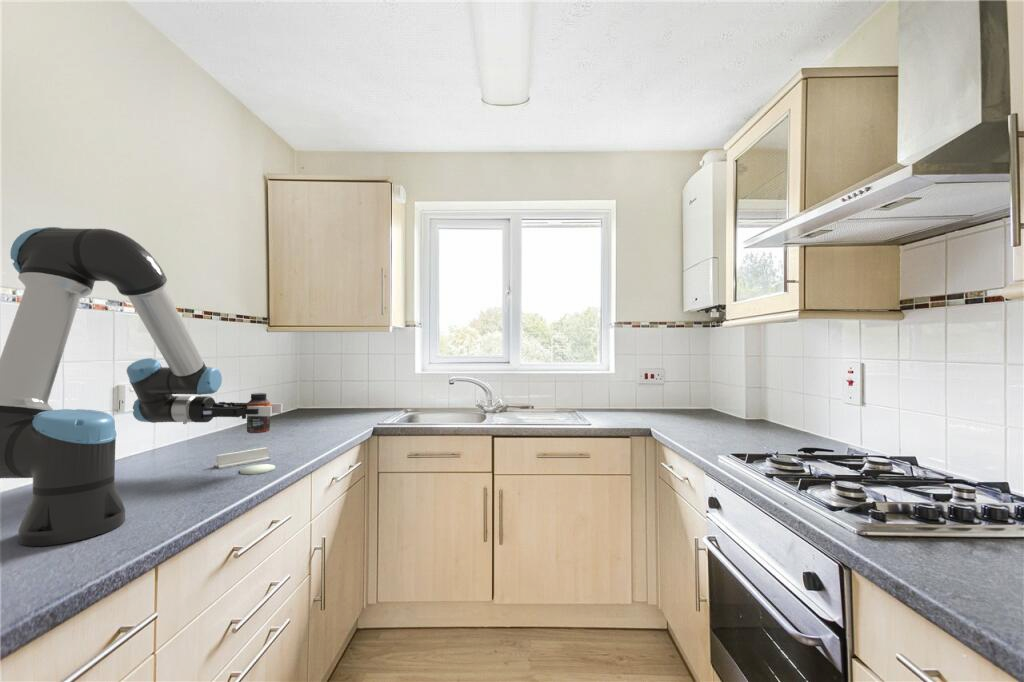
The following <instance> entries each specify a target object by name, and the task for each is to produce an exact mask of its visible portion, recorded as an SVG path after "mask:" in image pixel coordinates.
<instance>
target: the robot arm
mask: <svg viewBox="0 0 1024 682" xmlns="http://www.w3.org/2000/svg"><path fill="white" fill-rule="evenodd" d="M9 253H10V254H9V255H10V259H11V261H12V260H13V262H12V266H13V267H14V269H15V270H16V271H17V272H18V276H17V277H18V278H17V279H19V281H20V283H22V284H23V285H24V290H23V294H22V297H21V300H20V301H19V305H18V307H17V311H16V312H15V316H14V319H13V322H12V325H11V327H10V329H9V333H8V335H7V338H6V340H5V343H4V347H3V350H2V353H1V355H0V479H32V498H31V501H30V503H29V504H28V507H27V510H26V511H25V514H24V516H23V519H22V521H21V523H20V526H19V528H18V537H17V538H18V544H19V545H22V546H26V547H48V546H57V545H61V544H62V545H63V544H67V543H73V542H78V541H82V540H86V539H90V538H93V537H95V536H96V535H97V536H99V534H100V535H103V534H105V533H107V532H110V531H112V530H114V529H117V528H119V527H120V526H122V525H123V524H124V523H125V521H126V509H125V506H124V504H123V501H122V498H121V497H120V496H121V495H120V493H119V491H118V490H117V487H116V484H115V479H116V478H115V475H116V473H115V470H116V439H117V432H116V424H115V423H116V422H115V419H114V416H112V415H111V414H110V413H108V412H104V411H100V410H94V409H82V408H81V409H80V408H79V409H78V408H77V409H68V408H64V409H63V408H62V409H53V408H52V406H50V404H49V399H50V396H51V393H52V389H53V385H54V382H55V380H56V377H57V373H58V369H59V367H60V364H61V361H62V357H63V353H64V351H65V347H66V344H67V341H68V338H69V334H70V331H71V328H72V325H73V321H74V318H75V316H76V312H77V309H78V305H79V304H80V303H79V302H80V300H81V299H82V298H85V297H88V296H90V295H91V294H92V292H93V288H94V286H95V282H109V283H111V284H112V285H114V286H115V287H116V289H117V291H118V293H119V294H120V295H122V296H123V297H124V296H125V297H128V300H129V301H130V303H131V304H132V306H133V309H135V311H136V312H137V314H138V316H139V318H140V320H141V321H142V323H143V324H144V326H145V328H146V330H147V331H148V334H149V335H150V337H151V339H152V340H153V342H154V343H155V345H156V348H158V351H159V352H160V354H161V355H162V358H163V359H164V361H165V362H166V364H167V366H168V367H166V366H165V367H163V366H162V364H161V363H160V361H159V360H158V359H156V358H151V357H150V358H142V359H139V360H136V361H134V362H132V363H131V364H130V365H128V366H127V368H126V374H127V376H128V380H129V383H130V385H131V386H132V388H133V389H132V390H133V391H134V393H135V395H136V397H137V398H136V400H135V401H134V402H133V405H132V409H133V412H132V414H133V417H134V418H135V420H137V421H138V422H144V423H152V424H156V423H182V424H183V425H187V424H188V423H209V422H210V421H212V420H213V419H214V418H240V417H241V420H244V419H245V420H247V416H270V417H272V416H273V414H279V413H281V414H282V413H283V405H284V404H283V403H271V402H270V406H248V407H247V403H248V402H232V401H231V402H225V401H219V402H216V401H215V399H214V398H213V397H212V396H207V395H212V394H215V393H216V392H218V390H219V389H220V387H221V386H222V381H223V376H222V373H221V371H220V369H217V368H216V367H211V366H207V365H206V364H205V362H204V361H203V359H202V356H201V354H200V353H199V350H198V349H197V347H196V344H195V342H194V341H193V339H192V336H191V335H190V332H189V331H188V329H187V327H186V325H185V323H184V321H183V319H182V317H181V315H180V313H179V310H178V309H177V307H176V305H175V303H174V301H173V299H172V297H171V294H170V293H169V292H168V289H167V287H166V285H167V284H168V278H167V277H166V275H165V272H164V270H163V269H162V267H161V266H160V264H159V263H158V262H157V260H156V259H155V258H154V257H153V255H152V254H151V253H150V252H149V251H148V250H147V249H145V247H143V246H142V245H141V244H140V243H138V242H137V241H135V240H134V239H133V238H131V237H129V236H128V235H126V234H124V233H121V232H119V231H116V230H113V229H110V228H109V229H107V228H72V227H71V228H70V227H68V228H66V227H64V228H63V227H59V226H48V227H41V228H33V229H29V230H26V231H24V232H22V233H20V234H19V235H18V236H17V237H16V238H15V240H14V241H13V242H12V245H11V247H10V251H9ZM176 395H177V396H176ZM178 395H181V396H178ZM195 395H198V396H195ZM202 395H206V396H202ZM89 537H90V538H89Z"/></svg>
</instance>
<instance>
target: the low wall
mask: <svg viewBox="0 0 1024 682" xmlns="http://www.w3.org/2000/svg"><path fill="white" fill-rule="evenodd" d="M266 461H271V457H269V447H260V448H253V449H248V450H240V451H237V452H236V451H234V452H228V453H221V454H216V463H214V467H216V468H218V469H219V470H221V469H226V467H227V468H232V466H233V467H236V466H237V467H238V465H239V466H243V465H244V466H245V465H249V464H255V463H259V462H266Z"/></svg>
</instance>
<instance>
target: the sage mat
mask: <svg viewBox="0 0 1024 682" xmlns="http://www.w3.org/2000/svg"><path fill="white" fill-rule="evenodd" d="M275 469H276V465H275V464H268V463H267V464H266V463H264V464H263V463H262V464H254V465H249V466H244V467H242V468H241V469H240V470H239V473H240V474H241V475H247V474H248V475H249V474H250V476H251V475H260V474H265V473H269V472H273V471H274V470H275Z"/></svg>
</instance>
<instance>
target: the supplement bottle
mask: <svg viewBox="0 0 1024 682" xmlns="http://www.w3.org/2000/svg"><path fill="white" fill-rule="evenodd" d="M246 403H247V407H248V406H270V403H271V401H270V400H268V399H267V393H266V392H255V393H254V392H253V393H251V394H250V400H249V401H248V402H246ZM270 430H271V416H247V415H246V432H247V433H248V434H263V433H267V432H269V431H270Z"/></svg>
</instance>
